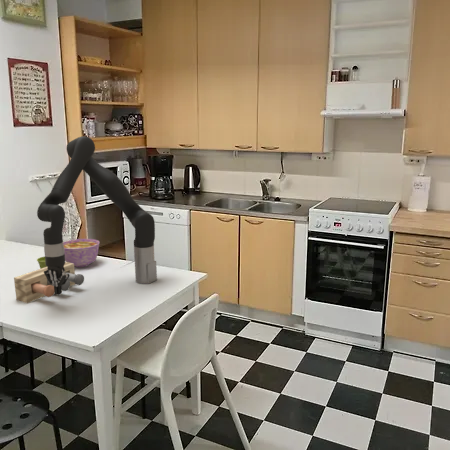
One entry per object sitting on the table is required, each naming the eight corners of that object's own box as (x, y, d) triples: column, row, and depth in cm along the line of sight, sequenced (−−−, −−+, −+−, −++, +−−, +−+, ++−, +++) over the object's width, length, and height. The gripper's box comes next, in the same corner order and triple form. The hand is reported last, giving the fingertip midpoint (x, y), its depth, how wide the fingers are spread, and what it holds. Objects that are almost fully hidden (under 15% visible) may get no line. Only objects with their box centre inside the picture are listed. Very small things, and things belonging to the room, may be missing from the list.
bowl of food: (59, 261, 248) (58, 240, 245) (98, 257, 256) (96, 237, 253) (62, 272, 230) (60, 250, 227) (103, 267, 238) (102, 246, 235)
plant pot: (34, 277, 224) (32, 260, 222) (48, 271, 232) (46, 254, 230) (49, 279, 221) (47, 262, 219) (62, 273, 229) (61, 256, 227)
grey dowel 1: (70, 288, 201) (69, 278, 199) (61, 292, 196) (60, 281, 195) (53, 284, 206) (52, 274, 205) (44, 287, 202) (43, 277, 201)
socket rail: (75, 284, 214) (73, 263, 212) (27, 303, 193) (24, 280, 190) (65, 281, 218) (63, 261, 216) (16, 299, 196) (13, 277, 194)
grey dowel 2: (84, 283, 207) (83, 273, 206) (76, 286, 203) (75, 276, 202) (67, 279, 213) (66, 269, 212) (59, 282, 209) (58, 272, 207)
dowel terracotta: (55, 294, 194) (54, 284, 193) (46, 298, 190) (44, 287, 189) (38, 290, 199) (37, 279, 198) (28, 293, 195) (27, 283, 194)
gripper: (73, 253, 185) (76, 294, 189) (51, 249, 191) (54, 288, 195) (58, 258, 178) (62, 300, 182) (35, 253, 185) (39, 294, 189)
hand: (58, 294), depth 189 cm, fingers closed
